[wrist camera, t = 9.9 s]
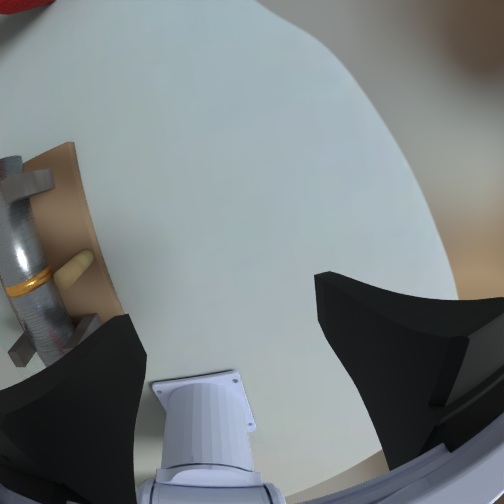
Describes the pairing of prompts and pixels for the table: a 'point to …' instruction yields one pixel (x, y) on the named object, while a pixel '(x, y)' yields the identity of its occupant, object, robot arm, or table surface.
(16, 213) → the silver metal cylinder
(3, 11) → the strawberry
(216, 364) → the table surface
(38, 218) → the collar stand
